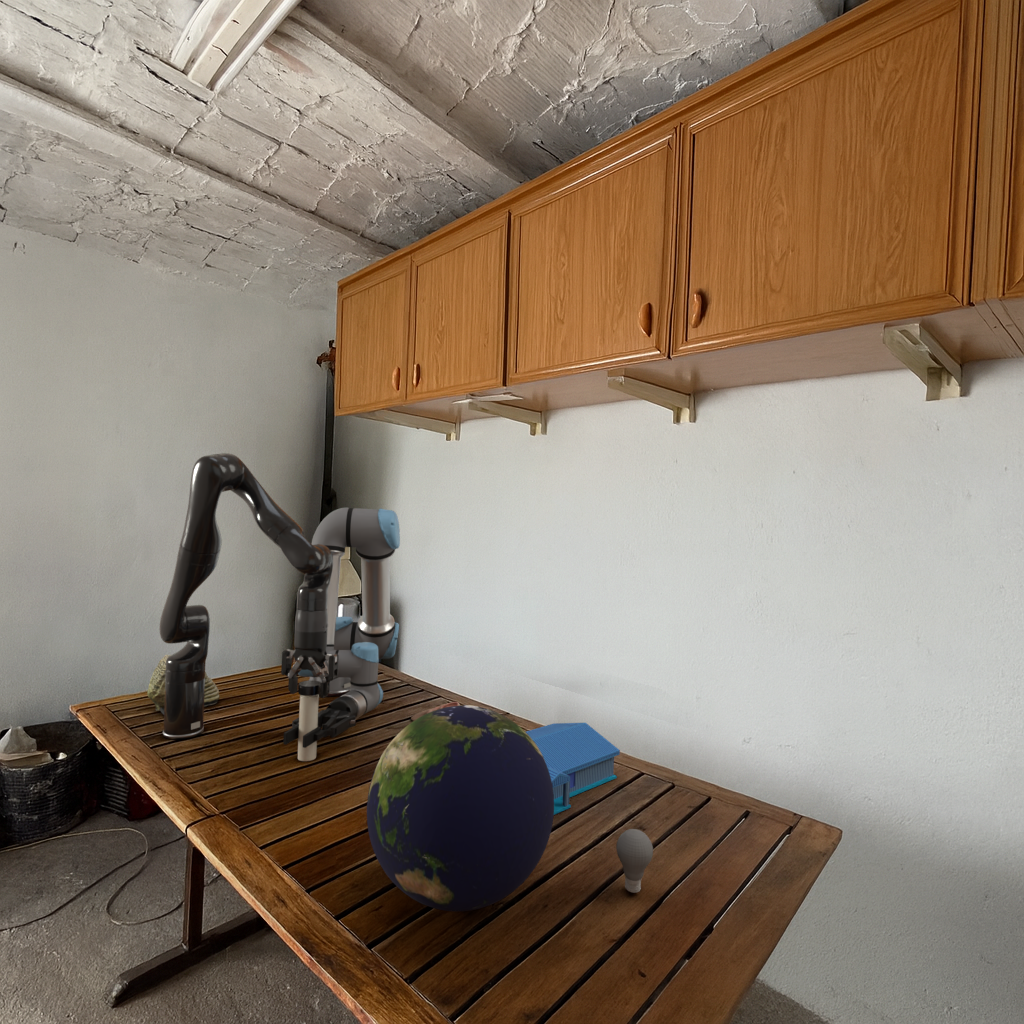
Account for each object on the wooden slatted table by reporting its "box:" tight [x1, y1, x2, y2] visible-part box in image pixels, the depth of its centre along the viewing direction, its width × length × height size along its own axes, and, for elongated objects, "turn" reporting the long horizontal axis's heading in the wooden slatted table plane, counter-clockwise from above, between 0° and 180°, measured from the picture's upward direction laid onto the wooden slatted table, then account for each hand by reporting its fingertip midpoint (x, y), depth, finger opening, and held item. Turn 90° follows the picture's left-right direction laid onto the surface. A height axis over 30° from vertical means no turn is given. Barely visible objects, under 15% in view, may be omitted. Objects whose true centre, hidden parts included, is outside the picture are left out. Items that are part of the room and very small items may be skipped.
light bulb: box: [615, 828, 654, 894], centre depth 106 cm, size 6×6×10 cm
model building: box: [525, 722, 621, 816], centre depth 143 cm, size 39×24×10 cm, turn 132°
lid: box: [297, 680, 321, 696], centre depth 153 cm, size 5×5×2 cm
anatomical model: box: [410, 701, 461, 722], centre depth 184 cm, size 13×4×12 cm
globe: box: [366, 704, 555, 913], centre depth 102 cm, size 30×30×30 cm
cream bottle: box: [297, 694, 320, 762], centre depth 153 cm, size 4×4×17 cm
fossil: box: [147, 654, 221, 712], centre depth 185 cm, size 9×18×15 cm, turn 132°
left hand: (308, 694), depth 153 cm, fingers open, 7 cm apart
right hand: (294, 740), depth 148 cm, fingers closed on cream bottle, 4 cm apart
